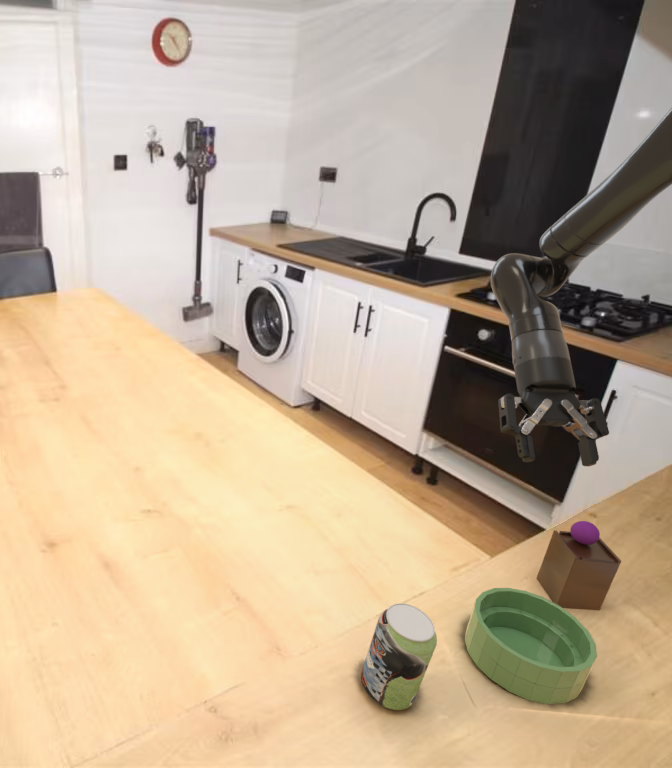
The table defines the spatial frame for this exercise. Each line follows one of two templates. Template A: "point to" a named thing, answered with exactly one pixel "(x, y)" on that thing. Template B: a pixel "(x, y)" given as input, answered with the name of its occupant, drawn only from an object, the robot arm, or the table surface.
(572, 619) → the bowl
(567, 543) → the ball stand
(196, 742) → the table surface
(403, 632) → the beverage can
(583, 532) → the ball
